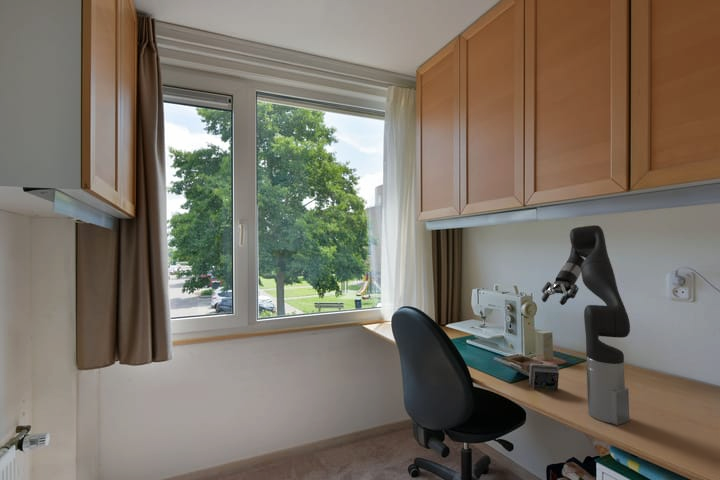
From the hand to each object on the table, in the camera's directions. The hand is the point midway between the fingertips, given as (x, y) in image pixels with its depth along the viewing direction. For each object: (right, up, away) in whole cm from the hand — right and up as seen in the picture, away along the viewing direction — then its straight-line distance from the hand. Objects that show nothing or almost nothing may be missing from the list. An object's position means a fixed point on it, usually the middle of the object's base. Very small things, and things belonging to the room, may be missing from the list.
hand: (552, 302), depth 148 cm
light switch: (-24, -27, -16) cm, 40 cm away
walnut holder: (-15, -27, -4) cm, 31 cm away
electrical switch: (-18, -27, -27) cm, 42 cm away
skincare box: (-2, -26, +3) cm, 26 cm away
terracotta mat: (-2, -27, +3) cm, 27 cm away
